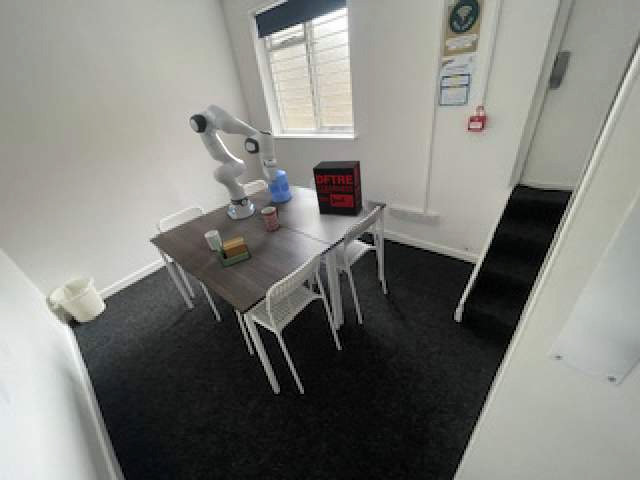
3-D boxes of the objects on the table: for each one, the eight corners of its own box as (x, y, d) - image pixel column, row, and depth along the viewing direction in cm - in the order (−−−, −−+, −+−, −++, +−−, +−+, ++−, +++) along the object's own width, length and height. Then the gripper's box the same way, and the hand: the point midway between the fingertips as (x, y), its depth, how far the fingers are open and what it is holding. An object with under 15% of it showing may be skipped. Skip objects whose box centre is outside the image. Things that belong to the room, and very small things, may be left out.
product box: (319, 213, 180) (312, 168, 164) (327, 204, 191) (321, 161, 174) (356, 216, 170) (353, 168, 153) (362, 206, 181) (359, 160, 164)
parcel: (245, 248, 155) (241, 236, 151) (248, 255, 148) (244, 243, 143) (227, 254, 152) (222, 242, 147) (229, 262, 145) (224, 249, 140)
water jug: (271, 197, 218) (263, 164, 203) (289, 193, 220) (282, 160, 205) (273, 204, 205) (264, 169, 190) (292, 200, 207) (285, 165, 192)
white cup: (212, 244, 164) (206, 231, 159) (224, 242, 164) (219, 229, 159) (209, 251, 158) (202, 238, 152) (221, 249, 158) (216, 235, 152)
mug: (274, 232, 167) (269, 214, 159) (263, 230, 171) (258, 212, 164) (286, 223, 175) (281, 205, 168) (275, 221, 180) (271, 203, 173)
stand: (245, 246, 158) (240, 231, 152) (249, 257, 146) (244, 243, 141) (221, 254, 154) (215, 239, 148) (224, 266, 142) (217, 251, 137)
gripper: (259, 157, 160) (261, 180, 167) (266, 164, 143) (268, 189, 150) (269, 157, 162) (271, 179, 169) (277, 163, 145) (279, 187, 152)
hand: (270, 183), depth 159 cm, fingers closed
